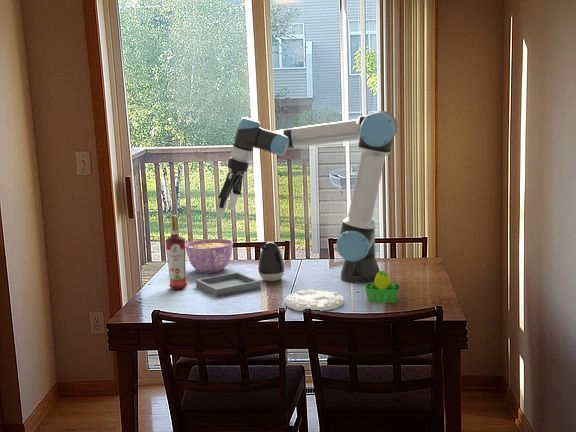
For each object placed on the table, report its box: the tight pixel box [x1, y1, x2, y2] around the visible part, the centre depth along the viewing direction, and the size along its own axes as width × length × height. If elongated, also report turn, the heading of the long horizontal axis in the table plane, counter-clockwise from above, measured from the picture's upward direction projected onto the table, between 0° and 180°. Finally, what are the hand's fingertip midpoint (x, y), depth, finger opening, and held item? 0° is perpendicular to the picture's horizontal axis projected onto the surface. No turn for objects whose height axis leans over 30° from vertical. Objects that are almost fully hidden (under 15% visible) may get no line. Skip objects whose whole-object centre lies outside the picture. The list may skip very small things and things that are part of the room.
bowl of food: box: [185, 238, 234, 274], centre depth 302 cm, size 20×20×12 cm
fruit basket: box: [364, 270, 401, 304], centre depth 248 cm, size 11×9×11 cm
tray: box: [195, 271, 261, 298], centre depth 274 cm, size 18×18×3 cm
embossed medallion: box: [284, 288, 344, 312], centre depth 249 cm, size 20×20×3 cm
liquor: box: [164, 214, 188, 291], centre depth 275 cm, size 7×7×28 cm
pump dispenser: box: [257, 241, 286, 282], centre depth 283 cm, size 10×10×15 cm
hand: (225, 212), depth 275 cm, fingers open, 13 cm apart
